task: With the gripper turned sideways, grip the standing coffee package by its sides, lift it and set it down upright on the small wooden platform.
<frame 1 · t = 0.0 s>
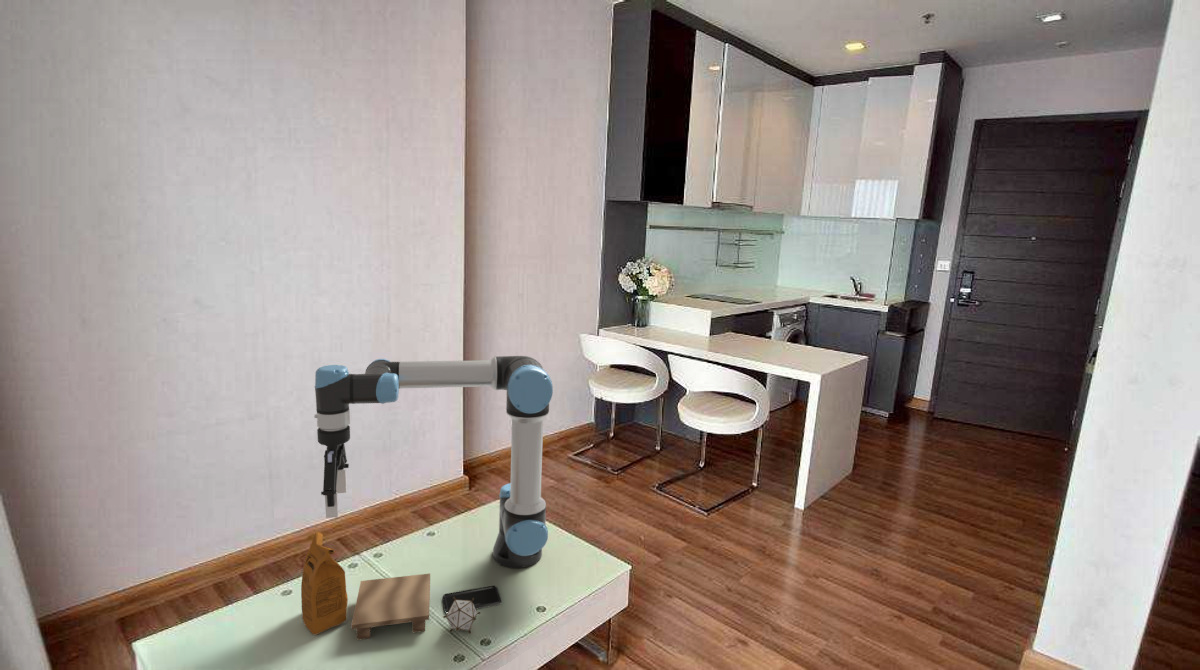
hand: (336, 504, 151), 28 cm above the table, tool pointing down, fingers open, 13 cm apart
phone: (471, 602, 159), on the table
small wooden platform: (393, 614, 152), on the table
game die: (461, 629, 148), on the table
coffee package: (324, 619, 150), on the table
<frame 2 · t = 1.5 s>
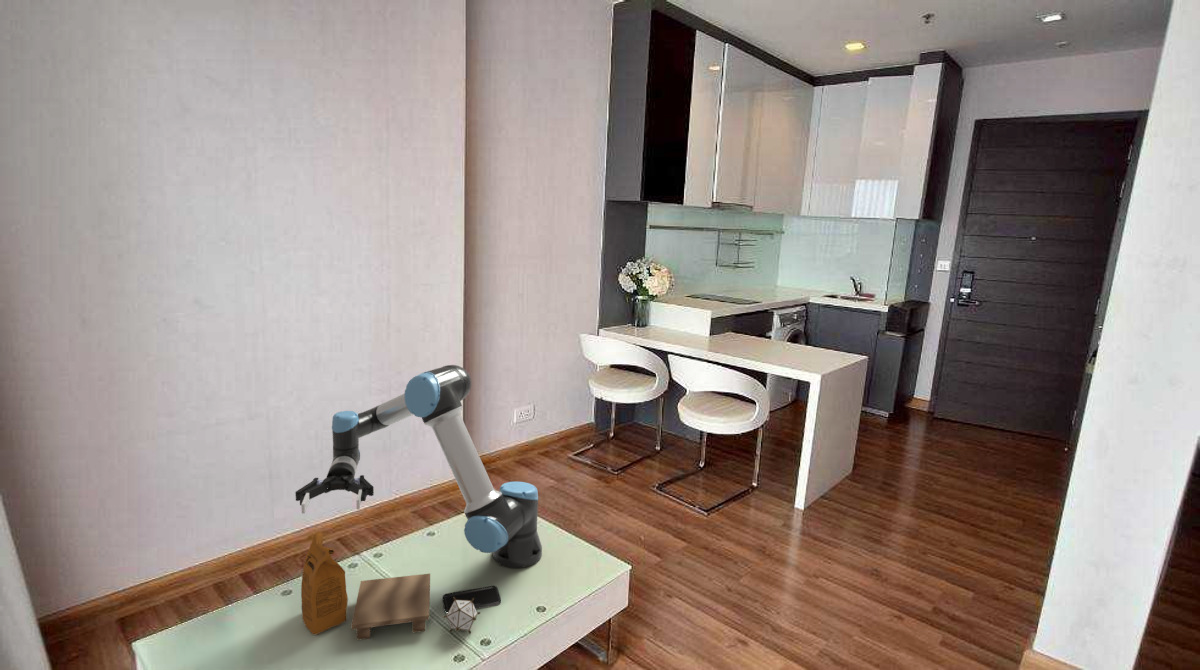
hand: (330, 506, 157), 24 cm above the table, tool horizontal, fingers open, 13 cm apart
nothing on the table moved.
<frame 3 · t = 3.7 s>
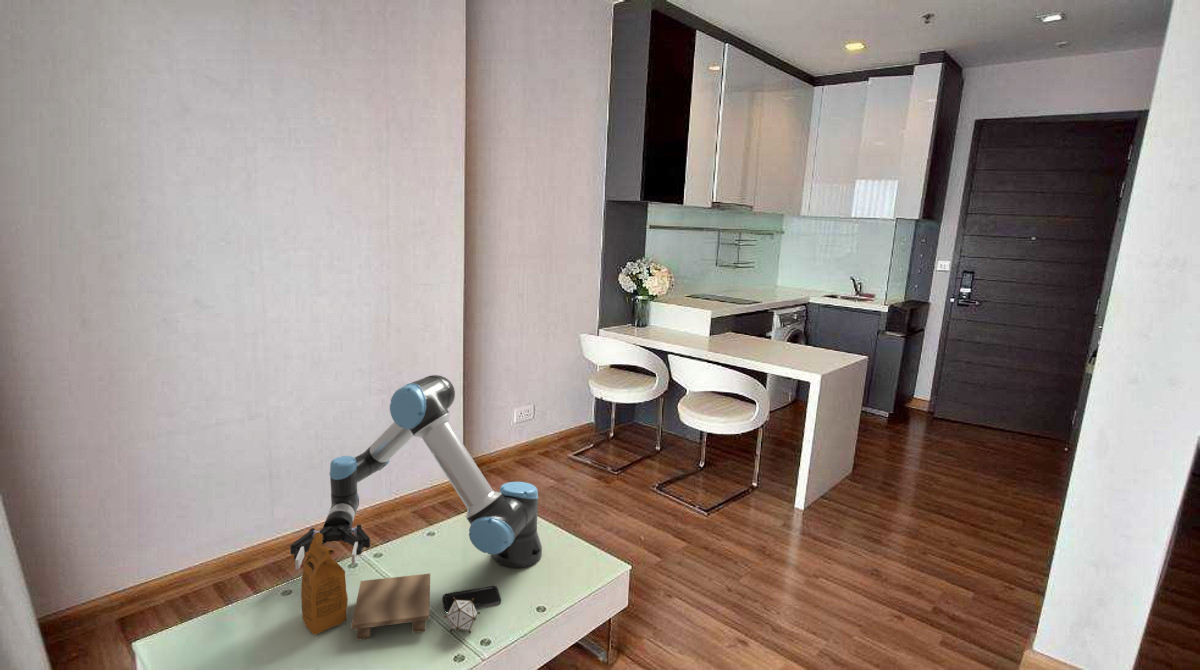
hand: (325, 562, 153), 12 cm above the table, tool horizontal, fingers open, 13 cm apart
nothing on the table moved.
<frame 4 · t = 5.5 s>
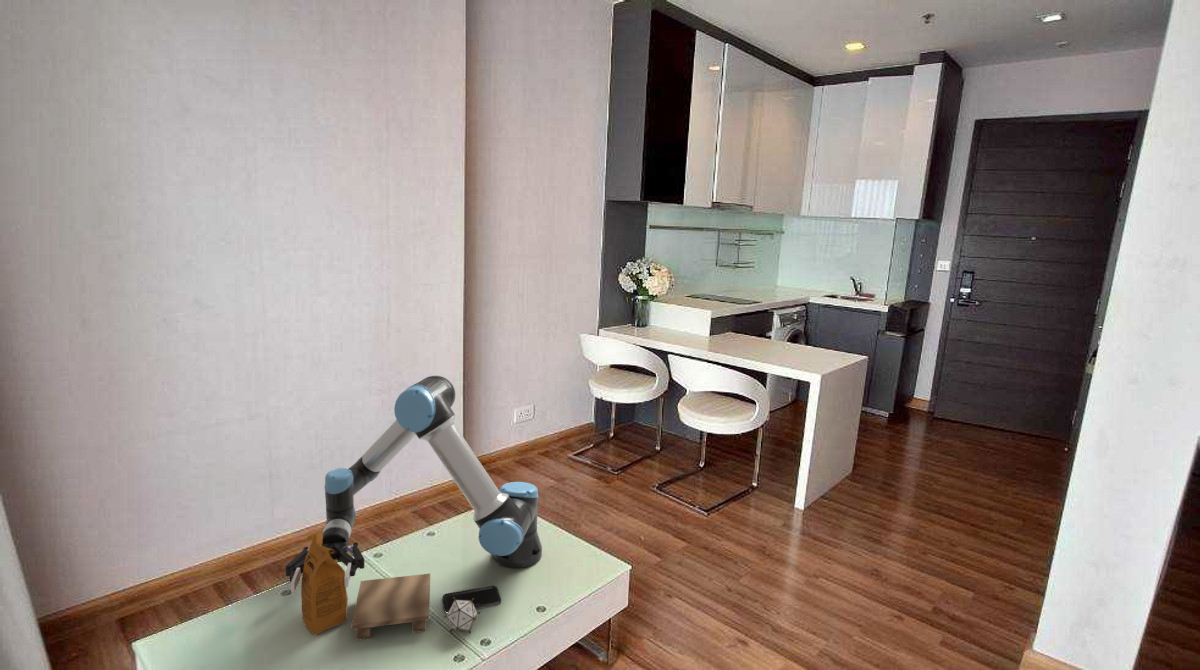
hand: (319, 585, 144), 12 cm above the table, tool horizontal, fingers open, 11 cm apart
coffee package: (324, 619, 150), on the table, touching gripper
everything else where it was.
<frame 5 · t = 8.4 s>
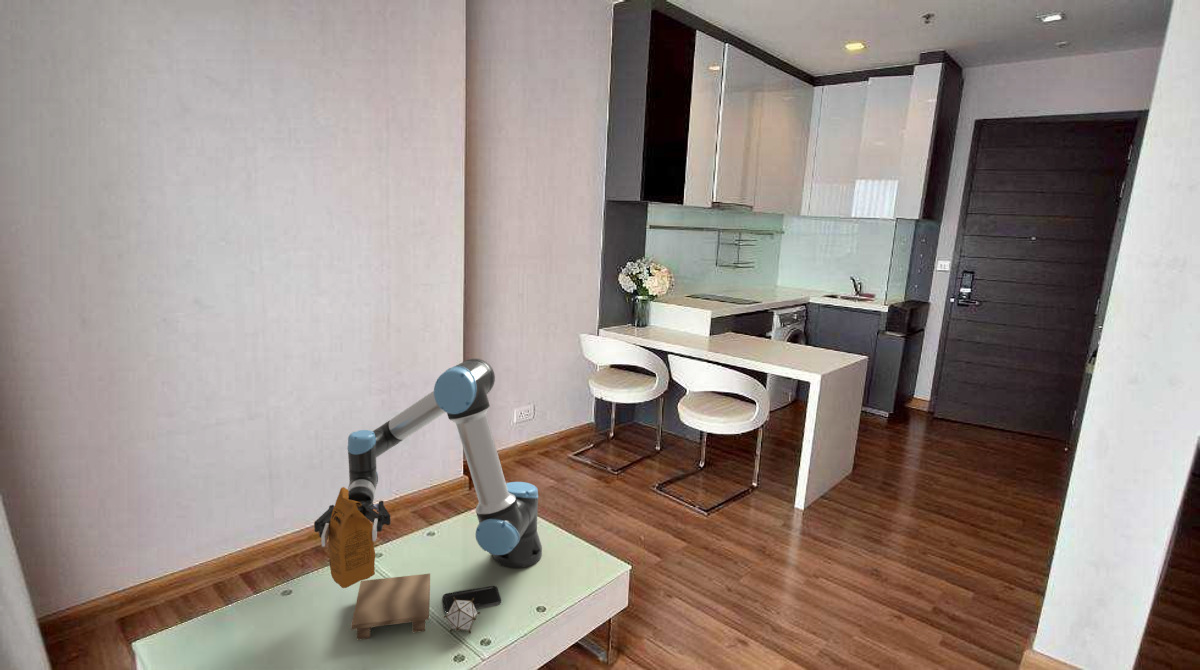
hand: (348, 538, 143), 24 cm above the table, tool horizontal, fingers closed on coffee package, 11 cm apart
coffee package: (352, 574, 149), point 12 cm above the table, touching gripper
everything else where it was.
when the fingers open (17 cm above the table, at t = 11.0 s): coffee package stays where it is, resting on small wooden platform.
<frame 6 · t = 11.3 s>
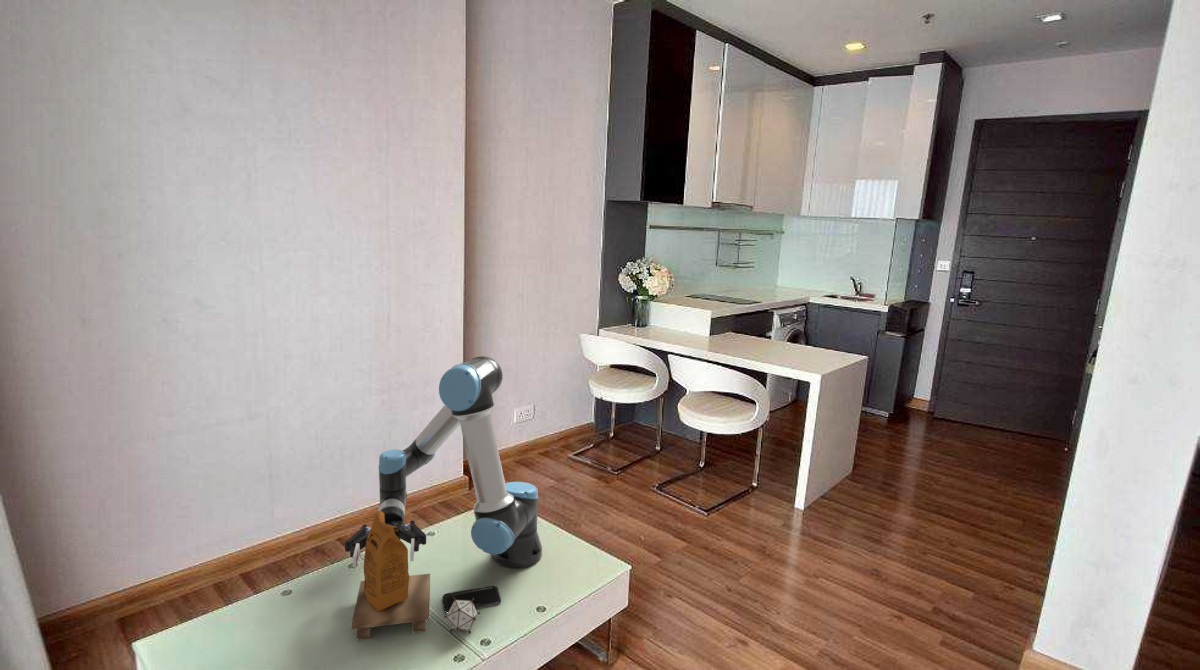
hand: (383, 559, 146), 17 cm above the table, tool horizontal, fingers open, 13 cm apart
coffee package: (386, 596, 152), point 5 cm above the table, touching small wooden platform
everything else where it was.
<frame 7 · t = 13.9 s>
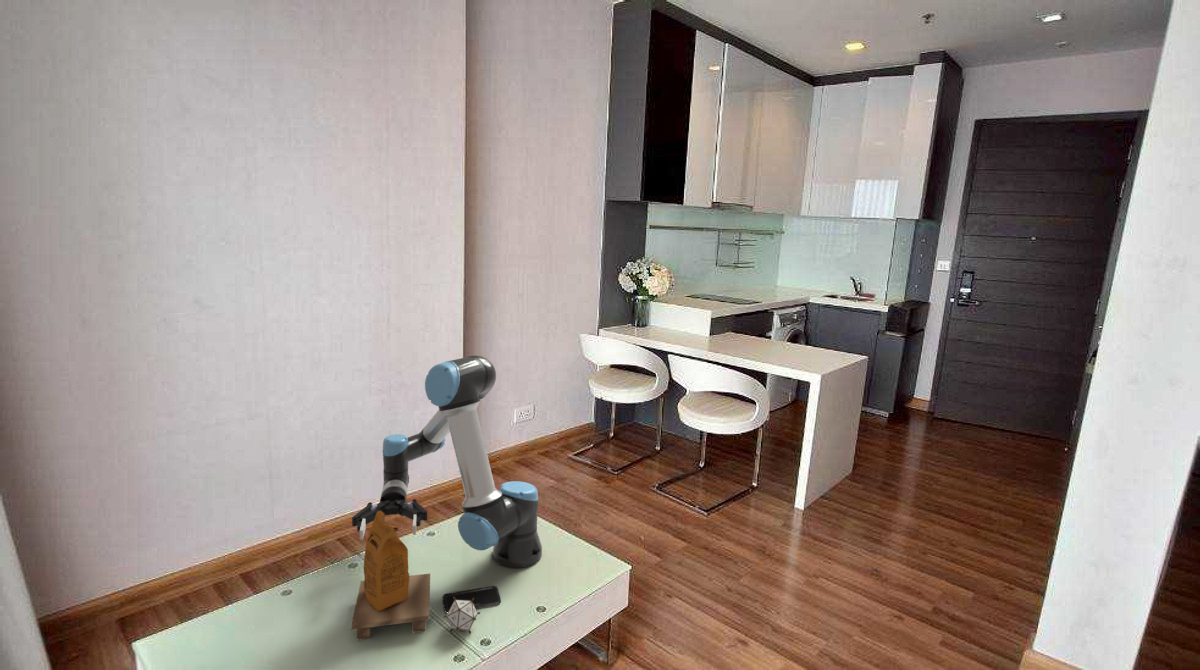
hand: (388, 532, 158), 18 cm above the table, tool horizontal, fingers open, 13 cm apart
nothing on the table moved.
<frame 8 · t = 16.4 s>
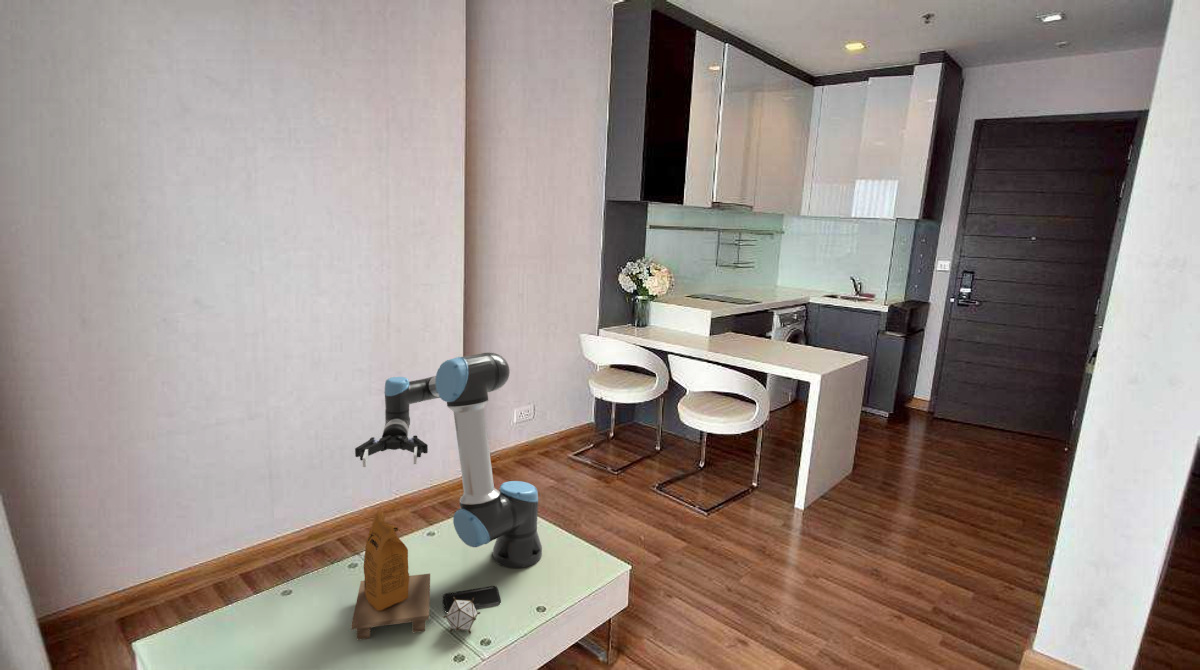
hand: (389, 461, 165), 34 cm above the table, tool horizontal, fingers open, 13 cm apart
nothing on the table moved.
at the end: coffee package inside the target area on the small wooden platform (1.1 cm from its centre), point 4.8 cm above the small wooden platform's base; coffee package tilted 0°; the gripper is holding nothing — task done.
